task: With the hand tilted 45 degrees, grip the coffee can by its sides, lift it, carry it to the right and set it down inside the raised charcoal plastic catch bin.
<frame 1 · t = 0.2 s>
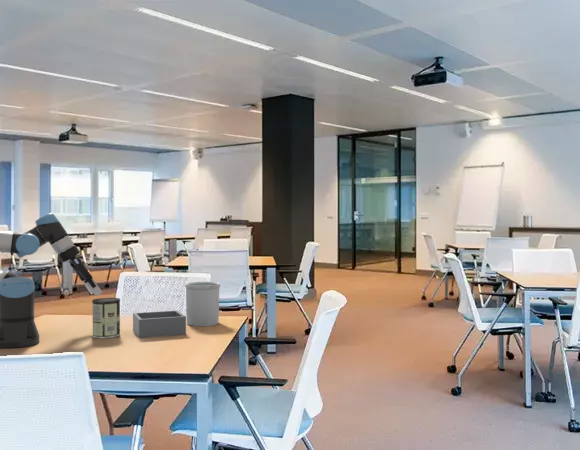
hand: (96, 293, 222), 15 cm above the table, tool tilted 30°, fingers open, 13 cm apart
catch bin: (158, 332, 220), on the table
utensil holder: (202, 324, 240), on the table
coffee can: (106, 336, 213), on the table
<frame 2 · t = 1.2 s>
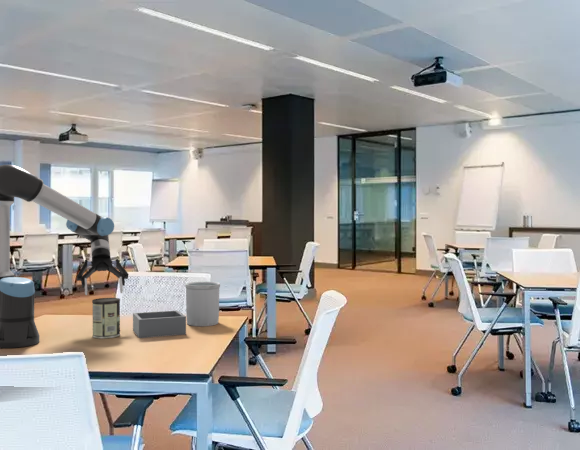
hand: (104, 292, 223), 16 cm above the table, tool tilted 45°, fingers open, 13 cm apart
nothing on the table moved.
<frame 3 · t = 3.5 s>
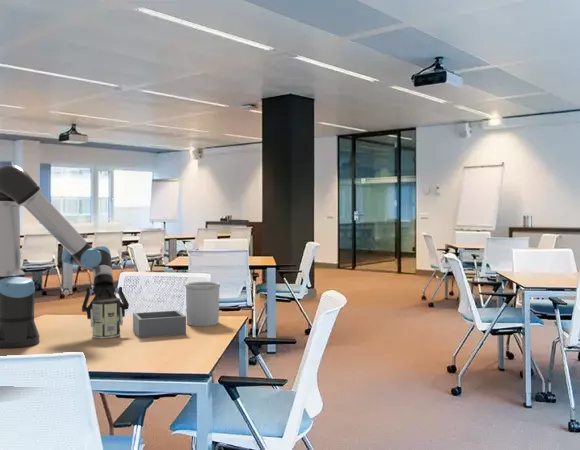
hand: (107, 324, 210), 5 cm above the table, tool tilted 45°, fingers closed on coffee can, 10 cm apart
coffee can: (106, 336, 213), on the table, touching gripper
everything else where it was.
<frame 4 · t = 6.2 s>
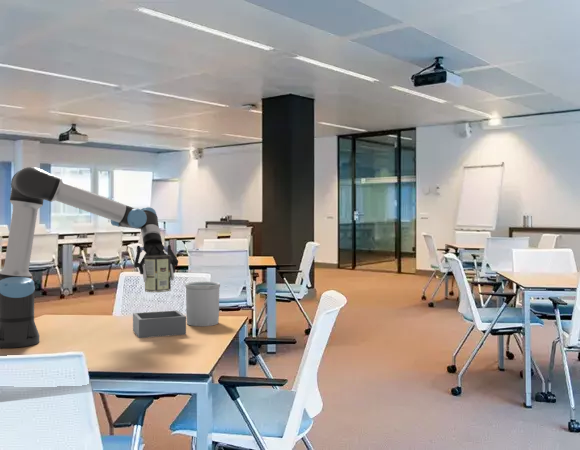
hand: (159, 279, 217), 22 cm above the table, tool tilted 45°, fingers closed on coffee can, 10 cm apart
coffee can: (157, 291, 220), point 16 cm above the table, touching gripper
everything else where it was.
when the fingers open (9 cm above the table, at t = 9.0 s): coffee can drops 1 cm, resting on catch bin.
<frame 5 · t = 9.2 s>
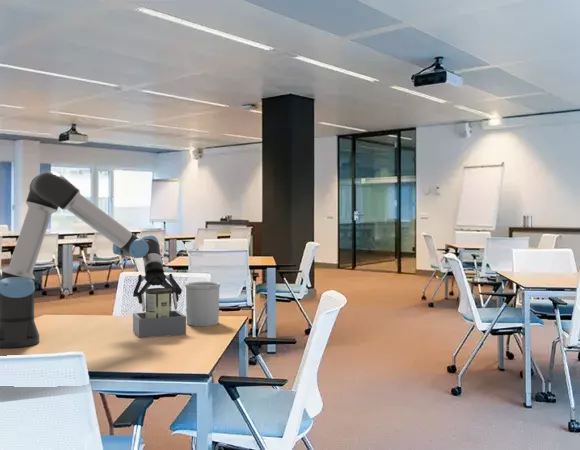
hand: (160, 308, 218), 10 cm above the table, tool tilted 45°, fingers open, 12 cm apart
coffee can: (158, 325, 220), point 3 cm above the table, touching catch bin
everything else where it was.
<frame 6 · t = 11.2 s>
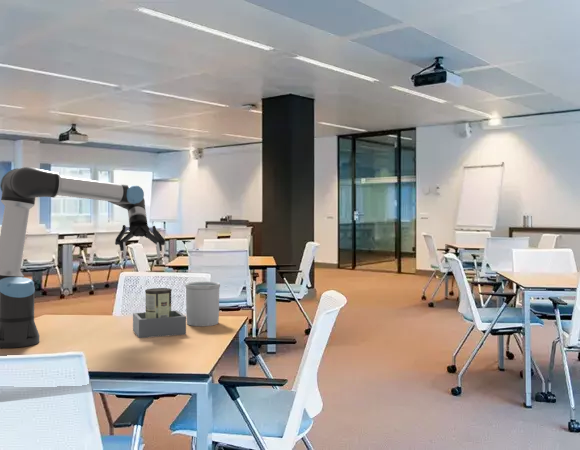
hand: (142, 256, 226), 30 cm above the table, tool tilted 45°, fingers open, 13 cm apart
nothing on the table moved.
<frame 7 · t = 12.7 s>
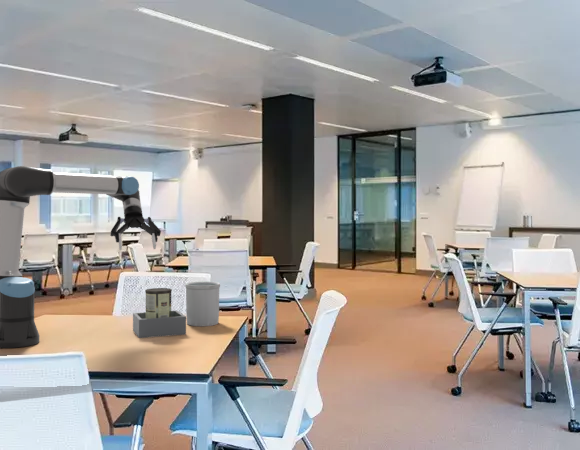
hand: (138, 247, 225), 34 cm above the table, tool tilted 45°, fingers open, 13 cm apart
nothing on the table moved.
at the end: coffee can inside the target area on the catch bin (0.2 cm from its centre), point 2.8 cm above the catch bin's base; coffee can tilted 0°; the gripper is holding nothing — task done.
